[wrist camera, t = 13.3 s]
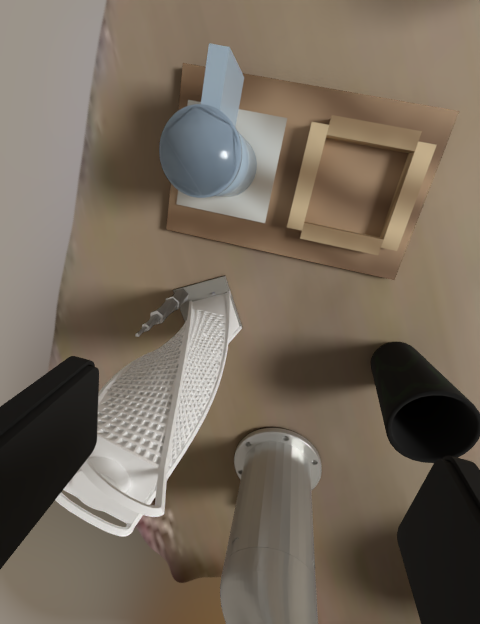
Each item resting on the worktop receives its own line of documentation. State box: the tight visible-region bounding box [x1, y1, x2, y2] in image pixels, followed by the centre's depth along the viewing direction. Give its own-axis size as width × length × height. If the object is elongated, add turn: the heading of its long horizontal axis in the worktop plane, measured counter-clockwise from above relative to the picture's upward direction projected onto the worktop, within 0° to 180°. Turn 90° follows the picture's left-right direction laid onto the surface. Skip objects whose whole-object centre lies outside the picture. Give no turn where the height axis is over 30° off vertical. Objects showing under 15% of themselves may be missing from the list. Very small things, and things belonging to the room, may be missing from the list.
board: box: [166, 63, 459, 280], centre depth 33 cm, size 16×26×2 cm, turn 79°
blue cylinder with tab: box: [159, 44, 257, 198], centre depth 28 cm, size 10×6×10 cm, turn 168°
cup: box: [371, 342, 480, 463], centre depth 34 cm, size 8×8×12 cm
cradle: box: [287, 115, 437, 255], centre depth 32 cm, size 11×11×2 cm
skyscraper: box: [55, 276, 242, 536], centre depth 28 cm, size 8×8×28 cm
